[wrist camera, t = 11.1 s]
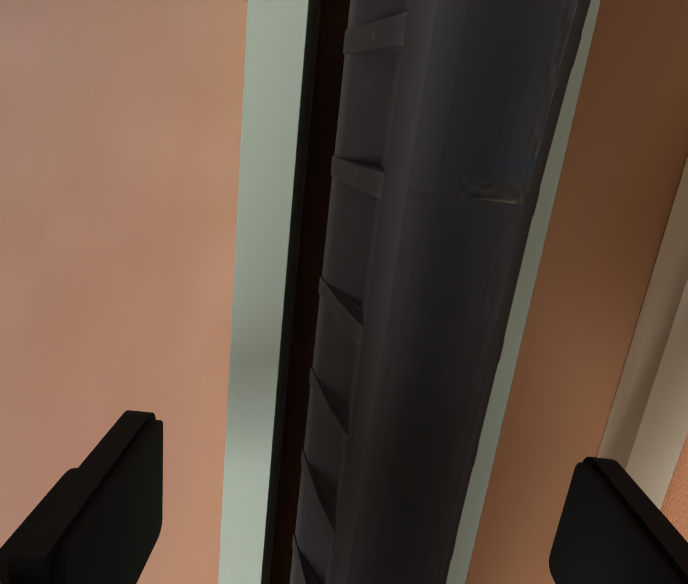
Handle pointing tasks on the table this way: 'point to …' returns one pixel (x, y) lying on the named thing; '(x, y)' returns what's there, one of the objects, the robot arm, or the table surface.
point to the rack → (656, 369)
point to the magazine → (421, 271)
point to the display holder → (281, 273)
